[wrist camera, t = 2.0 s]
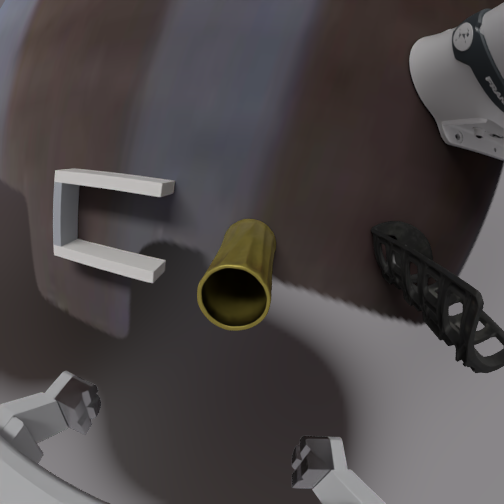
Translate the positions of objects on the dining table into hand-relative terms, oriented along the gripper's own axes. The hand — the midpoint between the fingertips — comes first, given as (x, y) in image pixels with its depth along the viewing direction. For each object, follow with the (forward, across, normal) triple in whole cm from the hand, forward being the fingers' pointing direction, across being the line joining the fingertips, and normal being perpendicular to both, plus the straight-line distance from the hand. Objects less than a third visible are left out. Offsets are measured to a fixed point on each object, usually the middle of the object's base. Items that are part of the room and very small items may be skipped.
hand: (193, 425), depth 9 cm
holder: (+25, -19, -3) cm, 32 cm away
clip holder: (+25, +18, 0) cm, 31 cm away
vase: (+25, 0, 0) cm, 25 cm away
